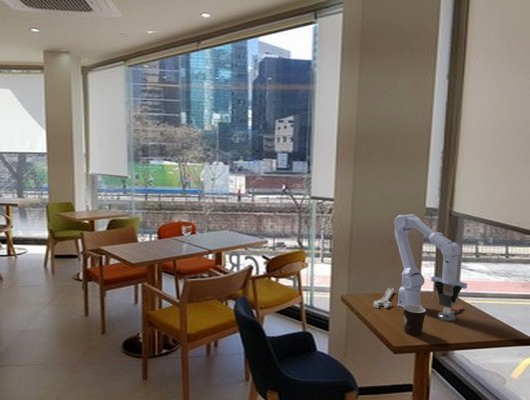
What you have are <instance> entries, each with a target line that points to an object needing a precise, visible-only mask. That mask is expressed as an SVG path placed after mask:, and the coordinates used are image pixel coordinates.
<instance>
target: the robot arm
mask: <svg viewBox="0 0 530 400" xmlns="http://www.w3.org/2000/svg"><path fill="white" fill-rule="evenodd" d="M393 225H394V237H395V241H396V244H397V248H398V252H399V255H400V259H401V263H402V267H403V271H402V273H401V278H402V279H401V286H400V287H399V290H398V294H397V295H398V297H397V306H398V307H402V308H403V306H405V305H416V306H420V307H423V306H424V305H422V304H421V292H422V291H421V289H422V286H423V285H424V284H425V278H424V276H423V274H422V272H421V270H420V269H419V268H418V267H417V266H416V261H415V258H414V255H413V251H412V248H411V244H410V240H409V237H408V234H409V233H410V231H411V230H412V229H416V230H417V231H418V232H420V233H421V234H423V235H424V236H426V237H427V238H429V239H428V240H429V242H430V243H431V244H432V245H433V246H435V247H436V248H437V249H438V250H440V252H441V254H442V259H443V261H442V272H441V276H440V277H439V276H434V275H433V276H431V280H430V282H432V283H433V282H434V286H435V288H436V290H437V294H438V299H439V298H440V293H441V292H443V291H444V288H445V285H448V286H453V287H452V293H453V300H452V302H453V303H455V304H456V302H457V298H458V296H459V294H460V292H461V291H462V290H466V289H467V288H468V283H466V282H462V281H460V280H457V272H458V262H459V261H458V260H459V255H461V253H462V247H461V246H460V244H458V242H456V241H455V242H454V241H453V242H452V240H451V239H448V237H446V236H444V233H443V232H439V231H436V232H435V231H434V230H432V229H431V228H430V226H428V225H426V223H424V222H423V221H422V220H421V219H420V217H419V216H416V215H415V214H414V213H409V214H399V215H397V216H396V217H395V218H394V221H393ZM423 308H424V307H423Z"/></svg>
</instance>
